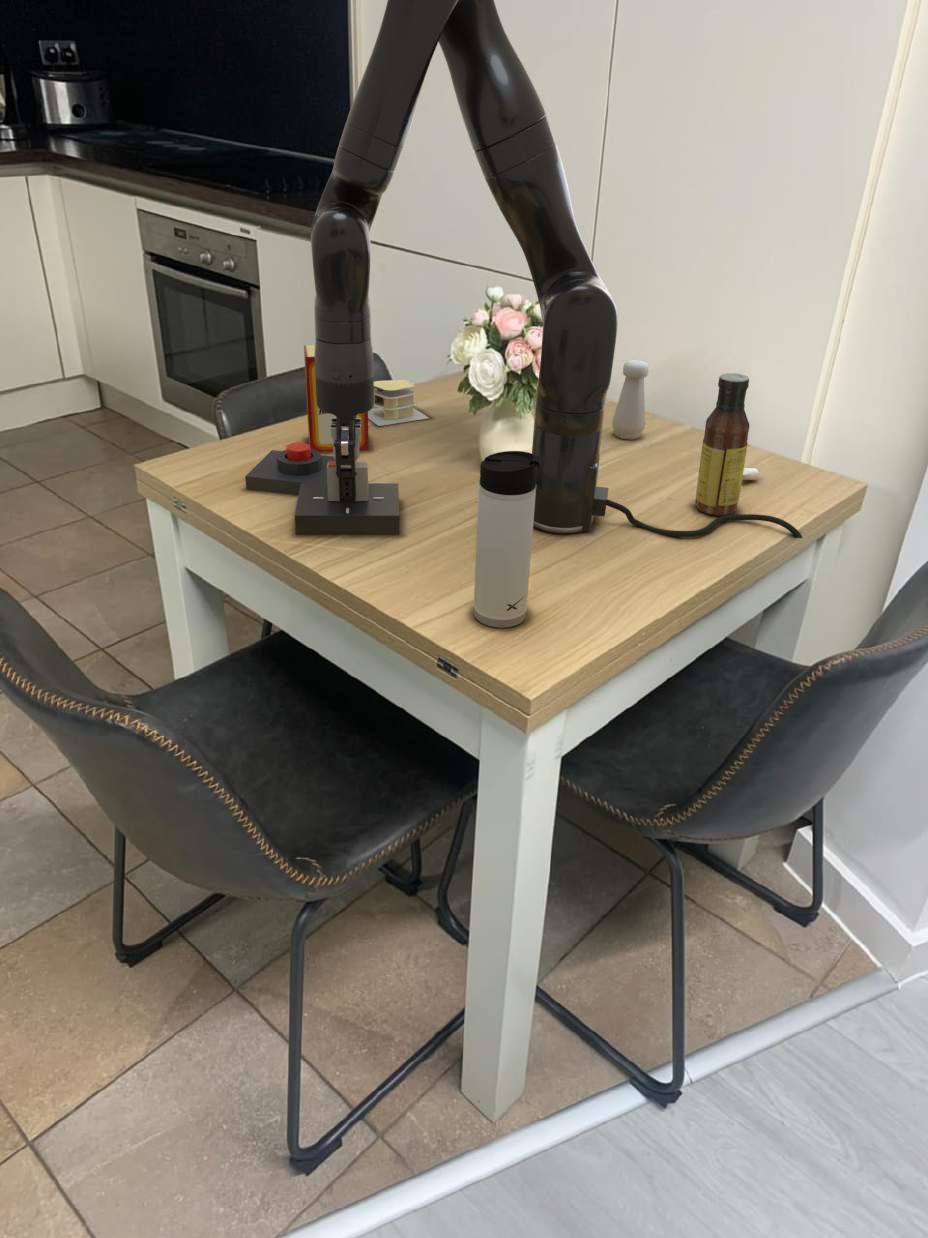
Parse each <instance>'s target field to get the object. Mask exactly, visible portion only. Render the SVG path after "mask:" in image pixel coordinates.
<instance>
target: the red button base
mask: <svg viewBox="0 0 928 1238" xmlns="http://www.w3.org/2000/svg"><path fill="white" fill-rule="evenodd" d="M329 461H336V460H335V459H334V457H333V455H325V454H324V455H323V454H321V452H318V451H316V450H313V449H311V459H308V460H306V461H291V460H288V459H287V451H286V449H285V450H275V449H272V450H270V451H269V453H267V454H266V455H265V456H264V457H263V458H262V459H261V460H260V461H259V462H258V463H257V464H256V465H255V466H254V467H253V468H252V469H251V470H250V471H249V472H248V473H247V474H246V475H245V476H244V478H245V489H246V490H248V491H256V492H257V491H258V492H267V493H273V494H274V493H275V494H284V495H292V496H293V495H294V496H298V495H299V490H300V485H301V483H327V463H328V462H329Z"/></svg>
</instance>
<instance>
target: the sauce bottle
mask: <svg viewBox="0 0 928 1238" xmlns="http://www.w3.org/2000/svg"><path fill="white" fill-rule="evenodd" d="M717 384H718V385H717V386H718V394H717V401H716V403H715V408H714V409H713V410H712V412H711V413H710V414H709V415H708V417H707V418H706V420H705V427H704V434H703V439H702V445H701V453H700V460H699V461H700V462H699V468H698V477H697V484H696V490H695V491H696V492H695V506H696V508H697V509H698V510H699V511H700V512H702V513H704V514H708V515H711V516H715V517H721V516H725V515H732V514H735V512H736V511H737V508H738V504H739V503H738V502H739V501H740V498H741V497H740V496H741V491H742V490H741V489H742V482H743V480H742V477H743V471H744V467H745V464H746V456H747V450H748V439H749V438H748V437H749V432H750V422H749V419H748V417H747V413H746V410H745V407H746V405H745V401H746V395H747V390H748V389H749V386H750V385H749V384H750V377H749V376H747V375H746V374H741V373H736V372H727V373H722V374H720V375H719V377H718V383H717Z"/></svg>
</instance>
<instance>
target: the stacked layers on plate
mask: <svg viewBox="0 0 928 1238" xmlns="http://www.w3.org/2000/svg"><path fill="white" fill-rule="evenodd" d="M416 386H417V385H415V384H414V383H412V382H411V381H409V380H407V379H392V380H391V379H390V380H377V381H374V406H373V408H372V409H371V410H370V411H368V420H369V421H371V422H373V424H375V425H376V426H378V427H382V426H383V427H384V426H388V425H394V424H395V425H396V424H401V423H407V422H413V421H419V420H427V419H429V417H428V416H427V415H425V414H424V413H422V412H421V411H419V410H418V409H416V408H415V406H417V404H416V403H415V402H414V396H415V395H417V392H416V391H414V390H412V389H410V388H413V387H416ZM375 387H376V388H375Z"/></svg>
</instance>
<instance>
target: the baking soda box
mask: <svg viewBox="0 0 928 1238" xmlns="http://www.w3.org/2000/svg"><path fill="white" fill-rule="evenodd" d="M303 354H304V355H303V356H304V375H305V376H304V377H305V392H306V393H305V395H306V396H305V397H306V412H307V414H306V415H307V432H308V433H307V434H308V444H309V445H310V446H311V449H313V450H316V451H318V452H319V453H324V452H325V453H326V452H333V438H332V437H331V424H332V418H336V416H335V415H333V414H328V413H325V412H323V411H321V410H320V409H319V408H318V406H317V399H316V378H315V344H309V345H308V344H307V345H306V344H304V345H303ZM357 418H361V436H360V448H359V452H360V451H369V450H370V449H369V448H370V447H369V419H368V412H366V413H363V414H358V415H357Z"/></svg>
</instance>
